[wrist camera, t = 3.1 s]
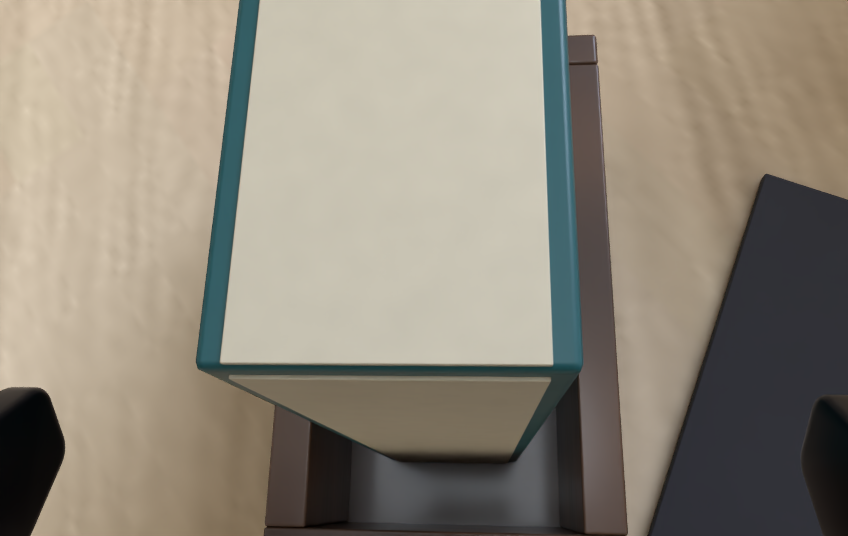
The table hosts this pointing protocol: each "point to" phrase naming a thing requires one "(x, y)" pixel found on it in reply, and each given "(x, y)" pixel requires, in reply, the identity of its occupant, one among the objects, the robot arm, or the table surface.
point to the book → (399, 222)
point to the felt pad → (765, 373)
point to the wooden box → (487, 482)
